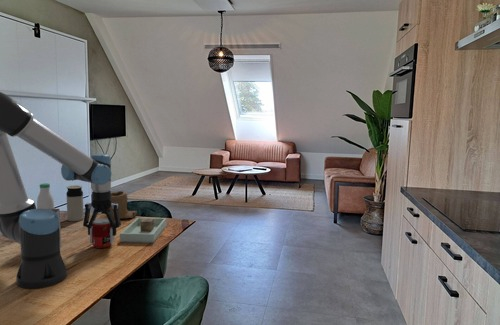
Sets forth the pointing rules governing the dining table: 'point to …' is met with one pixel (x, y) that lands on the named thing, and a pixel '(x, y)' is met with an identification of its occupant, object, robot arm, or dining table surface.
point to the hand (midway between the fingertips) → (102, 242)
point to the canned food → (101, 233)
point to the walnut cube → (147, 225)
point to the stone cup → (121, 205)
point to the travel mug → (75, 203)
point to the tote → (136, 236)
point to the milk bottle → (45, 197)
